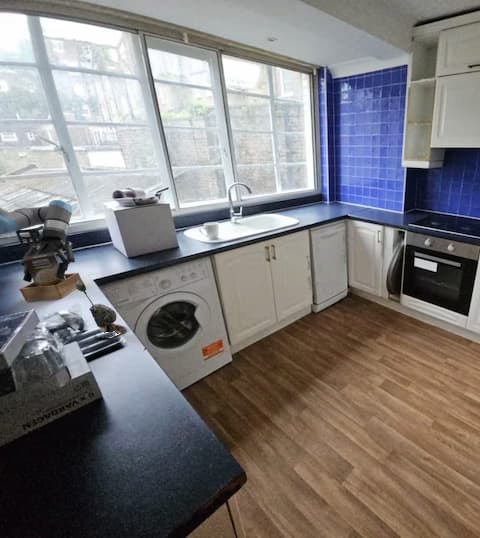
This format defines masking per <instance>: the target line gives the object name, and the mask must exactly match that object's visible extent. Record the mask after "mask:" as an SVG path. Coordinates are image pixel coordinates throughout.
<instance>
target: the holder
mask: <svg viewBox="0 0 480 538" xmlns="http://www.w3.org/2000/svg"><path fill="white" fill-rule="evenodd" d="M43 226H44V225H43V224H40V225H39V226H38V227H34V228H26V229H21V230H18V231H15V232H14V233H15V234H16V236H17V239H18V242H19V243H20V246H21V248H22V250H23V253H24V256H25V255H26V253H27V252H28V250H29V249H27V247H28V246H29V247H30V246H31V244H32V243H33V244H40V243H41V234H42V233H40V231H41V230H42V231H43ZM26 233H29V236H21V234H26ZM24 240H26V243H25V242H24ZM31 241H32V242H31ZM42 252H44V251H43V250H42Z"/></svg>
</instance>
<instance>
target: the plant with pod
mask: <svg viewBox="0 0 480 538" xmlns="http://www.w3.org/2000/svg"><path fill="white" fill-rule="evenodd" d="M76 290H78V291H79V292H83V294H84V295H85V296H86V298H87V299H88V301H89V302H90V303H91V307H89V311H90V313H91V316H92V318H93V320H94V322H95V325H96V326H97V327H98V328H99V330H100V333H101V332H104V333H105V332H113V331H115V332H116V333H117V334H119V333H122V334H121V335H123V334H125V333H126V332H127V331H128V328H127V327H126V326H125V325H122V324H115V322H117V313H116V311H115V310H114V309H113V308H111V307H109V306H107V305H105V304H102V303H95V304H94V303H93V302H92V300H91V299H90V297H89V296H88V293H87V292H86V290H87V287H86V285H85V282H84V281H83V280H82V278H81V279H78V280H77V281H76Z"/></svg>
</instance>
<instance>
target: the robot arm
mask: <svg viewBox="0 0 480 538" xmlns="http://www.w3.org/2000/svg"><path fill="white" fill-rule="evenodd" d="M72 212H73V206H72V205H71V204H70V203H69V202H67V201H65V200H61V199H52V200H51V201H49V203H48V206H47V205H46V206H38V207H23V208H22V207H21V208H16V209H14V210H13V211H7V210H6V209H4V208H1V207H0V235H6V234H7V235H8V234H12V233H16V232H15V231H18V230H26V229H30V228H32V227H35V226H41V225H42V226H43V230H42V231H41V233H40V234H41V243H40V244H33V242H31V243H32V244H31V246H29V248H28V249H27V250H28V252H27V253H26V255H25V254H24V256H23V257H22V259H21V260H20V262H19V265H21V266H23V267H24V269H23V274H24V275H23V279H22V280H23V281H25V282H27V283H32V282H33V279H32V277H31V275H30V273H29V270H28V268H27V266H26V264H25V262H24V257H27V256H33V255H39V254H45V253H51V252H54V253H55V254H57V256H58V257H59V259H60V262H59V261H58V262H59V267H58V271H57V276H56V277H58V278H60V279H64V275H65V274H66V272H67V271H68V269H69V265H70V264H72V263H75V262H76V259H75V256H74V251H73V242H71V241H69V240H67V236H68V231H69V227H70V221H71V218H72V215H73V213H72ZM62 248H64V250H65V253H64V250H63V249H62ZM42 251H44V252H42Z"/></svg>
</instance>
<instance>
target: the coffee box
mask: <svg viewBox="0 0 480 538" xmlns="http://www.w3.org/2000/svg"><path fill="white" fill-rule="evenodd" d="M23 257H24V256H23ZM24 262H25V264H26V266H27V268H28V270H29V273H30V275H31V277H32V282H34V283H35V285H36V287H41V286H50V285H57V284H58V283H60V282H62V281H63V280H65V279H66V278H65V275H64V279H60V278H58V277H56V276H57V271H58V267H59V259H58V257H57V255H56V253H54V252H51V253H45V254H39V255H33V256H27V257H24Z"/></svg>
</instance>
